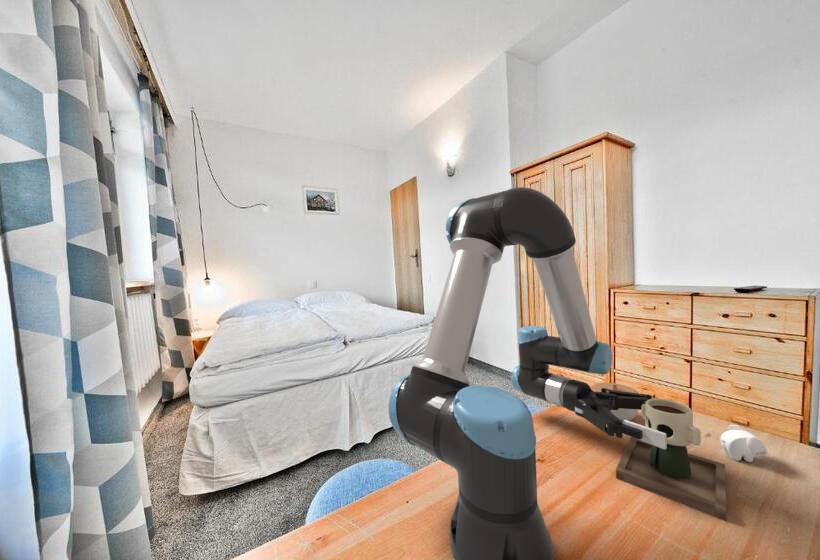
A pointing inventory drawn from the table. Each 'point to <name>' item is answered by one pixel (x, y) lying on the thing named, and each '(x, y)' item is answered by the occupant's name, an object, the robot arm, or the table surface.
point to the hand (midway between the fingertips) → (678, 428)
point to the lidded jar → (620, 413)
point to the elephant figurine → (741, 444)
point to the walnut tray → (676, 479)
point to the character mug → (671, 435)
